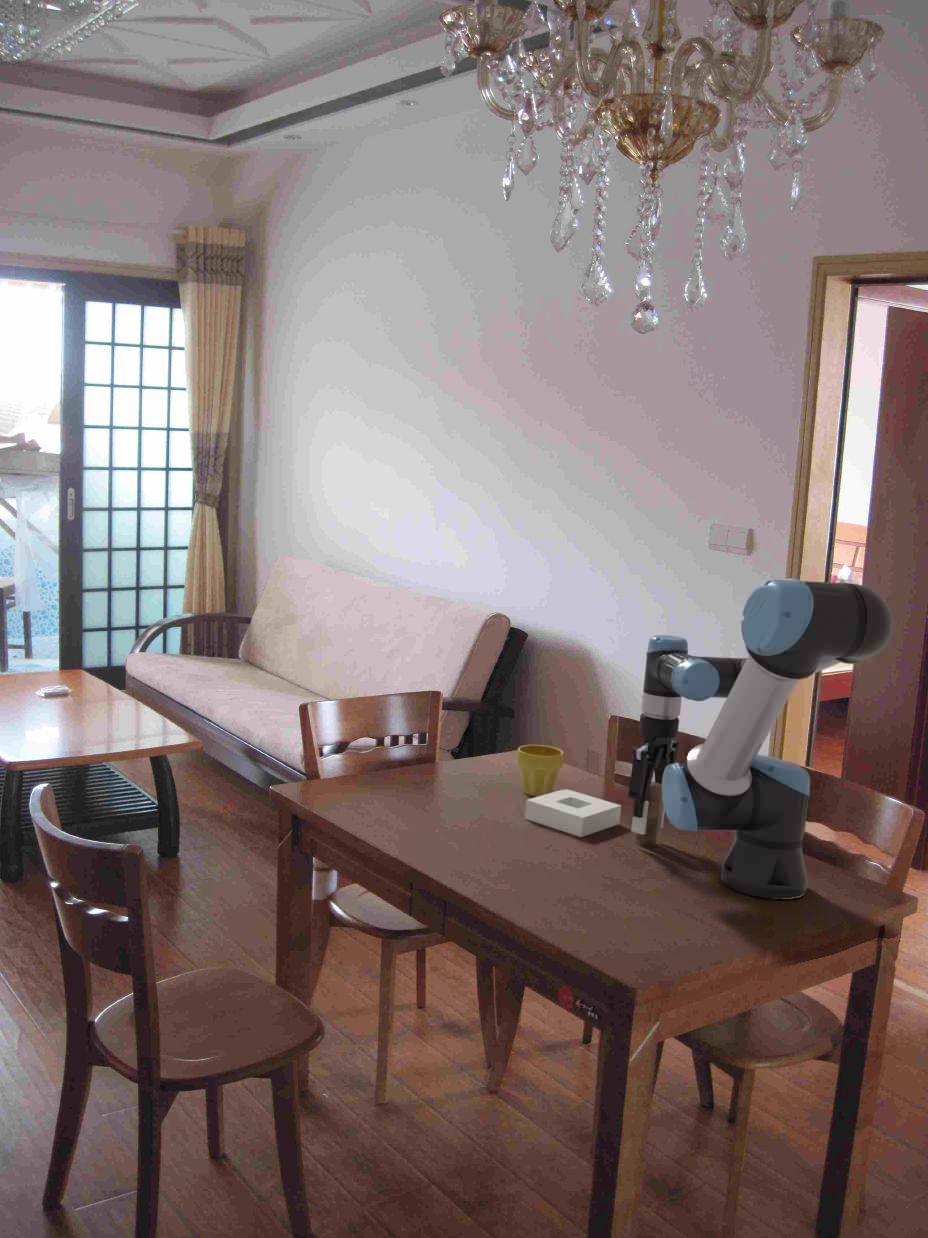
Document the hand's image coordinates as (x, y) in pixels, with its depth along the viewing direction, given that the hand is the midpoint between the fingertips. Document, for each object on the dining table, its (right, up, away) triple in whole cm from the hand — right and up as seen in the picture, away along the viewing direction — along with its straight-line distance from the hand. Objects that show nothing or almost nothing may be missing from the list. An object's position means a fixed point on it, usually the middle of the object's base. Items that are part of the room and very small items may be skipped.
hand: (647, 829), depth 227 cm
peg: (0, -3, 0) cm, 3 cm away
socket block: (-14, 0, +10) cm, 17 cm away
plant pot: (-20, +3, +29) cm, 35 cm away
